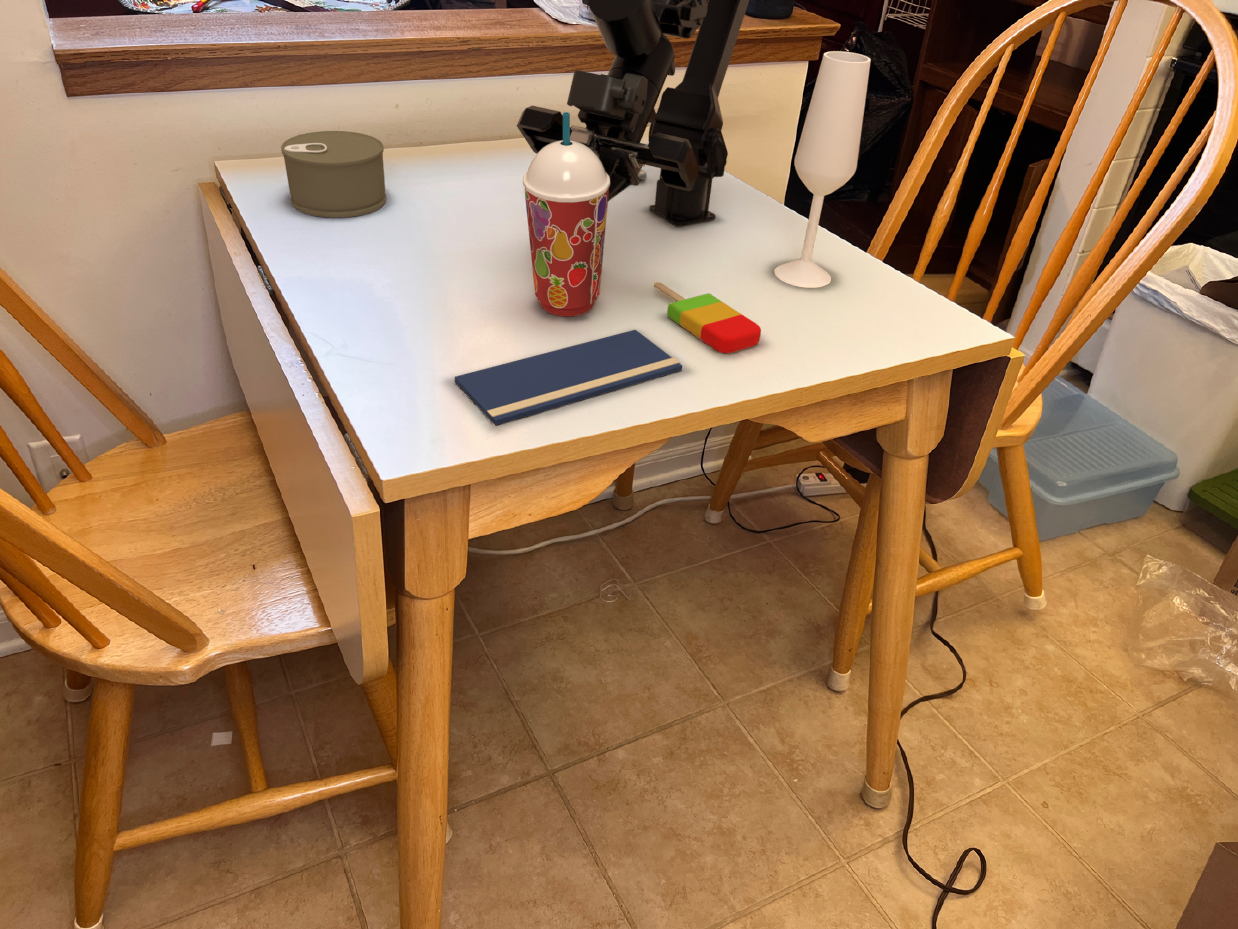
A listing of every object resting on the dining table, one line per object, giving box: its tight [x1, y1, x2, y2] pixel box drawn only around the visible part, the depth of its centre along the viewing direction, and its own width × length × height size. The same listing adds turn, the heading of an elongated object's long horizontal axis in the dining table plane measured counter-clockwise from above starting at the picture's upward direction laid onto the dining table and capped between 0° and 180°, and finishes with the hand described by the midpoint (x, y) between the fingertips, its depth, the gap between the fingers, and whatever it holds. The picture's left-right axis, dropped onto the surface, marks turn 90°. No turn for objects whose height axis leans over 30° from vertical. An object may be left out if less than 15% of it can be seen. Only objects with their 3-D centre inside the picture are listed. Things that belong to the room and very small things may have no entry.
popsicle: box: [653, 281, 762, 354], centre depth 95 cm, size 6×15×2 cm, turn 35°
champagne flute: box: [773, 50, 872, 289], centre depth 100 cm, size 7×7×24 cm
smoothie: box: [522, 111, 610, 317], centre depth 90 cm, size 8×8×20 cm
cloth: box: [454, 329, 683, 426], centre depth 85 cm, size 20×8×1 cm, turn 124°
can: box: [280, 130, 387, 219], centre depth 113 cm, size 12×12×7 cm
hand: (577, 221), depth 92 cm, fingers closed
